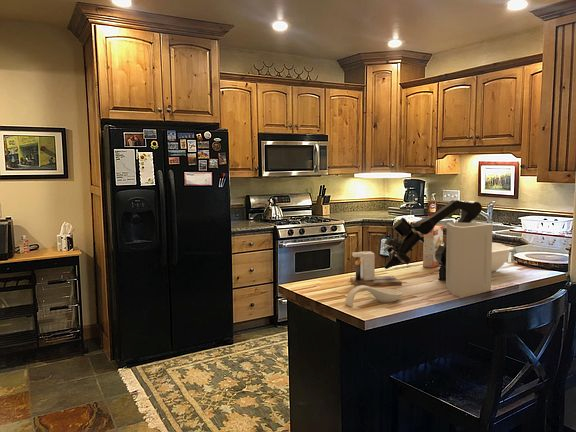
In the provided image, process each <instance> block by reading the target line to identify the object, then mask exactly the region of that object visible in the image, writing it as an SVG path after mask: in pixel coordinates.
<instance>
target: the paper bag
mask: <svg viewBox="0 0 576 432" xmlns="http://www.w3.org/2000/svg"><path fill="white" fill-rule="evenodd" d="M446 242H447V247H446V281H445V288H446V289H447V290H448V292H450V294H451V295H453V296H454V297H455V296H456V297H460V298H465V297H469V296H472V295H478V294H481V293H487V292H490V291H492V272H491V263H492V243H493V223H488V222H487V223H485V222H483V223H482V222H470V223H458V222H447V223H446Z"/></svg>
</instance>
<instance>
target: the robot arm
mask: <svg viewBox="0 0 576 432" xmlns="http://www.w3.org/2000/svg"><path fill="white" fill-rule="evenodd" d="M457 210H461V212H460V213H461V214H460V215H461V216H460V218H459V219H458V221H457V223H472V221H474V220H475V219H476V218H477V217H478V216H479V215H480V213H481V212H482V210H483V206H482V204H481V203H480V201H474V200H468V201H466V202H465V201H461V200H458V199H452V200H450V201H449V202H448V203H447V204H445V205H444V206H442V207H441V208H439V209H438V210H437V211H436V212H434V213H432V214H431V215H429V216H427V217H423V218H422V219H419V220H417V221H416V222H415V223H411V224H410V223H409V222H408V221H407V219H406V218H405V217H401V218H400V219H398V220H397V221H395V222H394V223H393V225H392V226H391V227H392V229H393V230H394V231H395V232H396V233H397V234H398V235H399V236H400V237H404V238H403V239H398V238H395V237H394V238H390V237H387V238H386V240H385V242H384V244H385V245H387V246H386V248H385V250H386V251H387V253H388V259H387V261H386V263H385V264H384V269H385V270H387V269H389V268H392V267H395V266H398V265H400V264H403V262H404V263H405V264H406V265H409V264H410V263H411V258H410V257H409V256H408V254H409V253H410V252H412V251H413V248H414V247H415V246H416V245H417V244H418V243H419V242H421V243H424V234H428V233H429V232H430V231H431V230H432V229H433V228H434V227H435V226H437V224H439V223H440V222H441V221H443V220H444V219H445V218H448V216H450V215H451V214H453V213H454V212H455V211H457ZM421 234H422V235H421ZM442 245H443V246H442ZM442 245H439V246H438V249H437V250H436V251H435V253H436V254H435V259H436V260H437V261H438V263H439V265H438V266H439V269H438V278H437V279H438V281H445V282H446V247H447V241H446V242H445V243H444V244H442ZM402 261H403V262H402Z"/></svg>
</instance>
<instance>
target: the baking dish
mask: <svg viewBox="0 0 576 432" xmlns="http://www.w3.org/2000/svg"><path fill="white" fill-rule="evenodd" d="M443 245H444V244H442V246H443ZM513 250H514V247H513V246H507V245H505V244H502V243H501V242H500V243H498V242H492V263H491V273H492V272H496V271H498V270H499V269H500V268H502V267H503V266H504V264H506V261H508V258H509V256H510V253H511V252H510V251H513Z"/></svg>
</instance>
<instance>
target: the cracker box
mask: <svg viewBox="0 0 576 432" xmlns="http://www.w3.org/2000/svg"><path fill="white" fill-rule="evenodd" d="M443 235H444V226H443V225H435V227H434V228H433V229H432V230H431V231H430V232H429V233H428V234H423V237H424V243H423V242H422V243H423V248H422V249H423V250H422V267H423V268H430V269H434V268H435V267H438V266H440V265H439V263H438V261H437V260H436V259H435V254H436V253H435V251H436V250H437V249H438V246H439V245H443V243H444V242H443V240H444V239H443V238H444V236H443Z"/></svg>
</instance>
